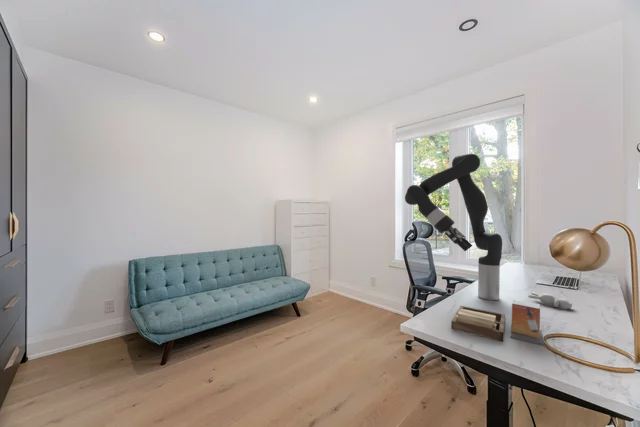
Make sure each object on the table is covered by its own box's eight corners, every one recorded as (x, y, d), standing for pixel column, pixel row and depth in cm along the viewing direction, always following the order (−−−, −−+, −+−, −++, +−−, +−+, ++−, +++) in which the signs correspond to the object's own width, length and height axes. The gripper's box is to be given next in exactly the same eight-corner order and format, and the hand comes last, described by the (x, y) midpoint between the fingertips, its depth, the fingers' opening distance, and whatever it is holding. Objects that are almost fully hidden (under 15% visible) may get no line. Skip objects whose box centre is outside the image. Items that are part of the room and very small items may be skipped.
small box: (511, 332, 96) (511, 303, 96) (512, 326, 100) (512, 299, 100) (539, 339, 91) (540, 308, 91) (539, 333, 95) (540, 304, 95)
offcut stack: (458, 323, 105) (459, 308, 105) (496, 332, 98) (496, 315, 98) (455, 328, 100) (456, 312, 100) (495, 338, 93) (495, 321, 93)
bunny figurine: (570, 303, 116) (528, 291, 128) (568, 314, 117) (526, 301, 128) (574, 299, 122) (533, 287, 134) (572, 309, 123) (531, 297, 134)
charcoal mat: (511, 325, 103) (511, 324, 103) (541, 332, 97) (541, 330, 97) (510, 337, 93) (510, 335, 93) (543, 345, 88) (543, 343, 88)
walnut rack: (460, 312, 116) (460, 305, 116) (505, 321, 106) (505, 314, 106) (451, 328, 100) (451, 320, 100) (502, 341, 90) (503, 332, 90)
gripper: (442, 214, 110) (474, 244, 104) (449, 214, 122) (478, 241, 115) (429, 227, 114) (458, 256, 107) (437, 225, 125) (464, 252, 118)
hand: (469, 248), depth 111 cm, fingers open, 8 cm apart
